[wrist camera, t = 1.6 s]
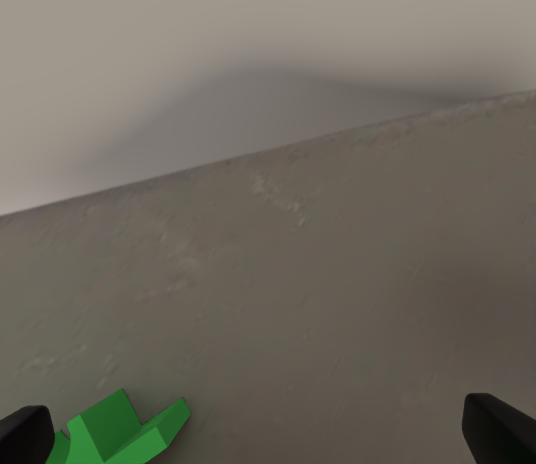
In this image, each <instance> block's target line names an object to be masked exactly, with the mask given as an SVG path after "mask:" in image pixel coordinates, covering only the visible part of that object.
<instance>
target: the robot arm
mask: <svg viewBox="0 0 536 464" xmlns="http://www.w3.org/2000/svg"><path fill="white" fill-rule="evenodd" d="M462 431H463V435H464V438H465V440H466V442H467V444H468V446H469V449H470V451H471V453H472V455H473V457H474V459H475V461H476V463H477V464H536V420H535V419H533V418H531V417H530V416H528V415H526V414H524V413H522V412H521V411H519V410H517V409H515V408H514V407H512V406H510V405H508V404H507V403H505V402H503V401H501V400H500V399H498V398H496V397H494V396H493V395H491V394H488V393H470V394H468V395H467V396H466V397H465V402H464V410H463V419H462ZM54 443H55V433H54V428H53V424H52V420H51V416H50V412H49V409H48V408H47V407H46V406H43V405H38V406H26V407H23V408H21V409H19V410H18V411H16V412H14V413H12V414H11V415H9V416H7V417H5V418H4V419H2V420H0V464H45V463H46V461H47V459H48V457H49V455H50V453H51V451H52V449H53V446H54Z"/></svg>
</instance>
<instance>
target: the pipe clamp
mask: <svg viewBox="0 0 536 464" xmlns="http://www.w3.org/2000/svg"><path fill="white" fill-rule="evenodd" d="M190 415H191V411H190V410H189V408H188V406H187V404H186V403H185V401H184V399H183V397H182V398H181V399H179V400H178V401H176V402H175V403H174V404H172V405H171V406H169V407H168V408H166V409H165V410H163V411H162V412H161V413H159V414H158V415H156V416H155V417H153V418H152V419H151V420H149V421H148V422H146V423H145V424H143V425H142V424H141V422H140V421H139V419H138V417H137V415H136V413H135V411H134V409H133V407H132V405H131V404H130V402H129V400H128V398H127V396H126V394H125V392H124V390H123V389H120V390H118V391H117V392H115V393H114V394H112V395H110V396H109V397H107V398H105V399H104V400H102V401H101V402H99V403H97V404H96V405H94V406H93V407H91V408H89V409H88V410H86V411H84V412H83V413H81V414H80V415H78V416H77V417H75V418H74V419H72V420H71V421H69V422H68V423H67V425H68V428H69V432H70V439H71V441H70V440H69V439H67V438H66V437H65V436H64V434H63V433H62V431H61V430H60V431H58V432H57V433H55V443H54V446H53V449H52V451H51V453H50V455H49V457H48V459H47V461H46V463H45V464H145V463H146V462H147V461H149V460H150V459H152V458H153V457H155V456H156V455H157V454H159V453H160V452H162V451H163V450H164V449H166V448H167V447H168V446H169V444H170V443H171V442H172V440H173V439H174V437H175V436H176V435H177V433H178V432H179V430H180V429H181V428H182V426H183V425H184V423H185V422H186V420H187V419H188V418H189V416H190Z"/></svg>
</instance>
